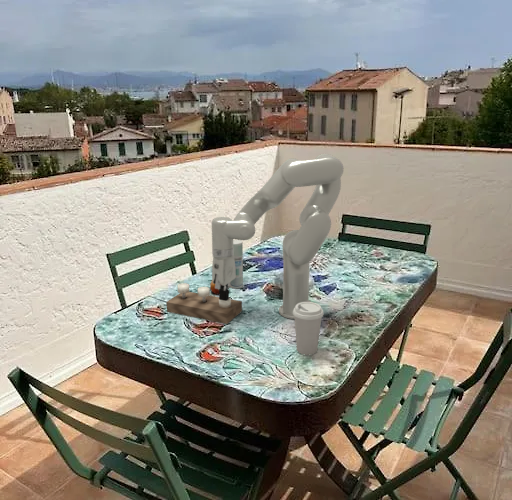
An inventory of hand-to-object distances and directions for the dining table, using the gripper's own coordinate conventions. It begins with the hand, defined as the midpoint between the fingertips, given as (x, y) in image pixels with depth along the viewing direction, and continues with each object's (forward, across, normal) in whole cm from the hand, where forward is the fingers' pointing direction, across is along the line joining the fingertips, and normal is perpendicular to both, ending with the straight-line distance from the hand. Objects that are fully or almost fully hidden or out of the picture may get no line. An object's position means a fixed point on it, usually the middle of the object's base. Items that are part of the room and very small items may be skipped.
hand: (224, 299), depth 168 cm
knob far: (+3, 0, +18) cm, 18 cm away
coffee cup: (+6, -12, -36) cm, 39 cm away
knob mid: (+2, 0, +9) cm, 9 cm away
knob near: (+5, 0, 0) cm, 5 cm away
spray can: (+7, +28, +10) cm, 31 cm away
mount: (+7, 0, +9) cm, 11 cm away
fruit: (+7, +19, +13) cm, 24 cm away
